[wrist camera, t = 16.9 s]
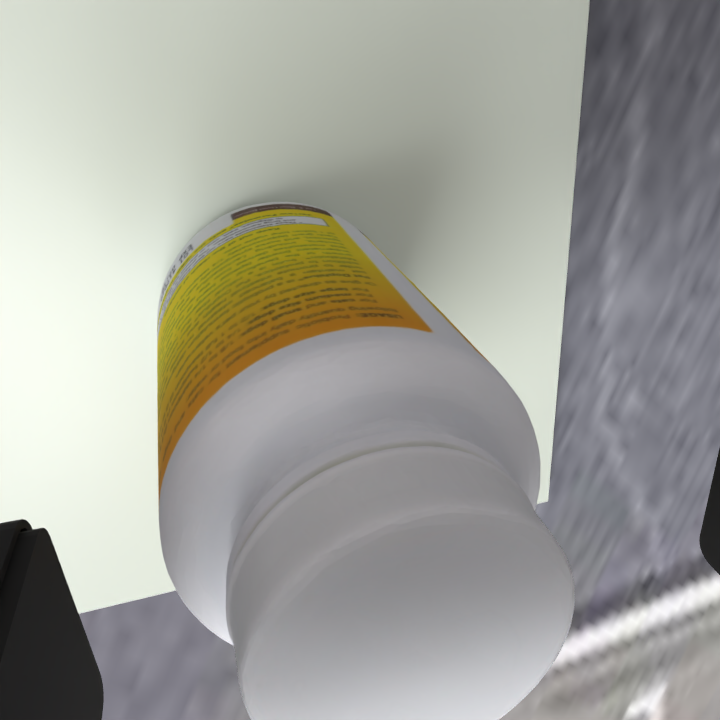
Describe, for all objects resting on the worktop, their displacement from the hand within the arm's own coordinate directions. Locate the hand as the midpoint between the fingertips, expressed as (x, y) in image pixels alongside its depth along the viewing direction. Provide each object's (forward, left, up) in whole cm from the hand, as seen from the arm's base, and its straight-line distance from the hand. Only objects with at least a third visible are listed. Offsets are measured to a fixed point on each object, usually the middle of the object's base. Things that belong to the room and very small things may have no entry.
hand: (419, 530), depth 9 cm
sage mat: (+1, 0, -9) cm, 9 cm away
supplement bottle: (+1, 0, -9) cm, 9 cm away
